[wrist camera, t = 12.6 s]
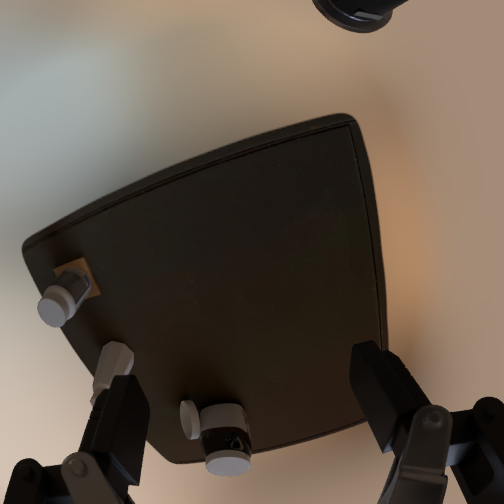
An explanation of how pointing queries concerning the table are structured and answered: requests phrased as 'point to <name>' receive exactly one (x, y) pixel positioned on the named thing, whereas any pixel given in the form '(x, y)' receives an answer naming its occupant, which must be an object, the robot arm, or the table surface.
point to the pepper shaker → (111, 366)
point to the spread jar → (220, 435)
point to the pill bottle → (64, 296)
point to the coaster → (85, 267)
